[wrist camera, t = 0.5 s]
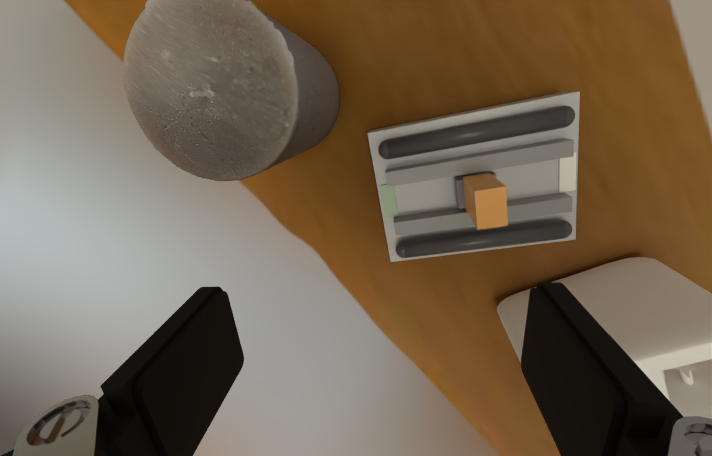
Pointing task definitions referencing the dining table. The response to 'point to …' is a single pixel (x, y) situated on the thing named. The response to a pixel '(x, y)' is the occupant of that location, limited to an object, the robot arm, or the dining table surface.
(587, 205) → the dining table surface
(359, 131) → the dining table surface
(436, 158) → the grey slotted tray
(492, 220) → the lever
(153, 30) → the pillar candle
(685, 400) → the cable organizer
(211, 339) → the robot arm
